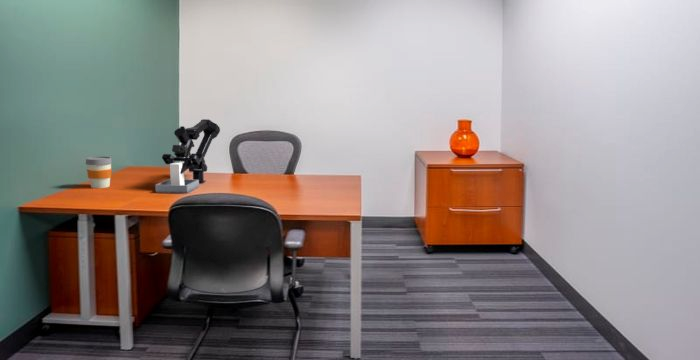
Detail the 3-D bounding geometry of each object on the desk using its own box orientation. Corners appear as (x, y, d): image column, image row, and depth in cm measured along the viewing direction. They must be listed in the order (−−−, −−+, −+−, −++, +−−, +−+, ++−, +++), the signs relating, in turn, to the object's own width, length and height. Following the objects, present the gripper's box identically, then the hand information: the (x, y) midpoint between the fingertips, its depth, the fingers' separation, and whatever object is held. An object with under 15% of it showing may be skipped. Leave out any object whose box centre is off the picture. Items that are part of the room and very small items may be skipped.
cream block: (175, 185, 314) (174, 162, 312) (184, 186, 313) (183, 162, 311) (170, 187, 309) (169, 163, 307) (180, 187, 308) (179, 164, 306)
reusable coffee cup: (112, 188, 314) (110, 159, 312) (86, 189, 311) (84, 160, 308) (113, 184, 326) (112, 156, 324) (88, 185, 322) (86, 156, 320)
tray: (169, 186, 321) (168, 178, 320) (199, 187, 319) (198, 179, 319) (155, 192, 303) (155, 184, 302) (187, 193, 302) (186, 185, 301)
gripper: (162, 138, 312) (152, 162, 304) (196, 139, 309) (187, 164, 300) (170, 151, 321) (161, 175, 313) (204, 152, 318) (195, 177, 309)
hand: (175, 172), depth 308 cm, fingers open, 5 cm apart
